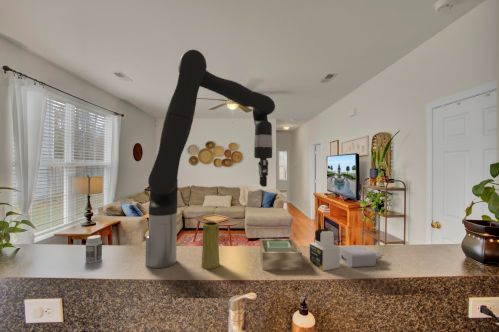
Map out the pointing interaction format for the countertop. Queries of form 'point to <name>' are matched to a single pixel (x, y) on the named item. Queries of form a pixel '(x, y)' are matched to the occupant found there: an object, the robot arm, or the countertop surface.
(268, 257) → the crate large
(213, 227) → the vase
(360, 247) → the charger
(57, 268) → the countertop surface
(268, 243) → the crate small
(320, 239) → the medicine bottle
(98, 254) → the pill bottle
